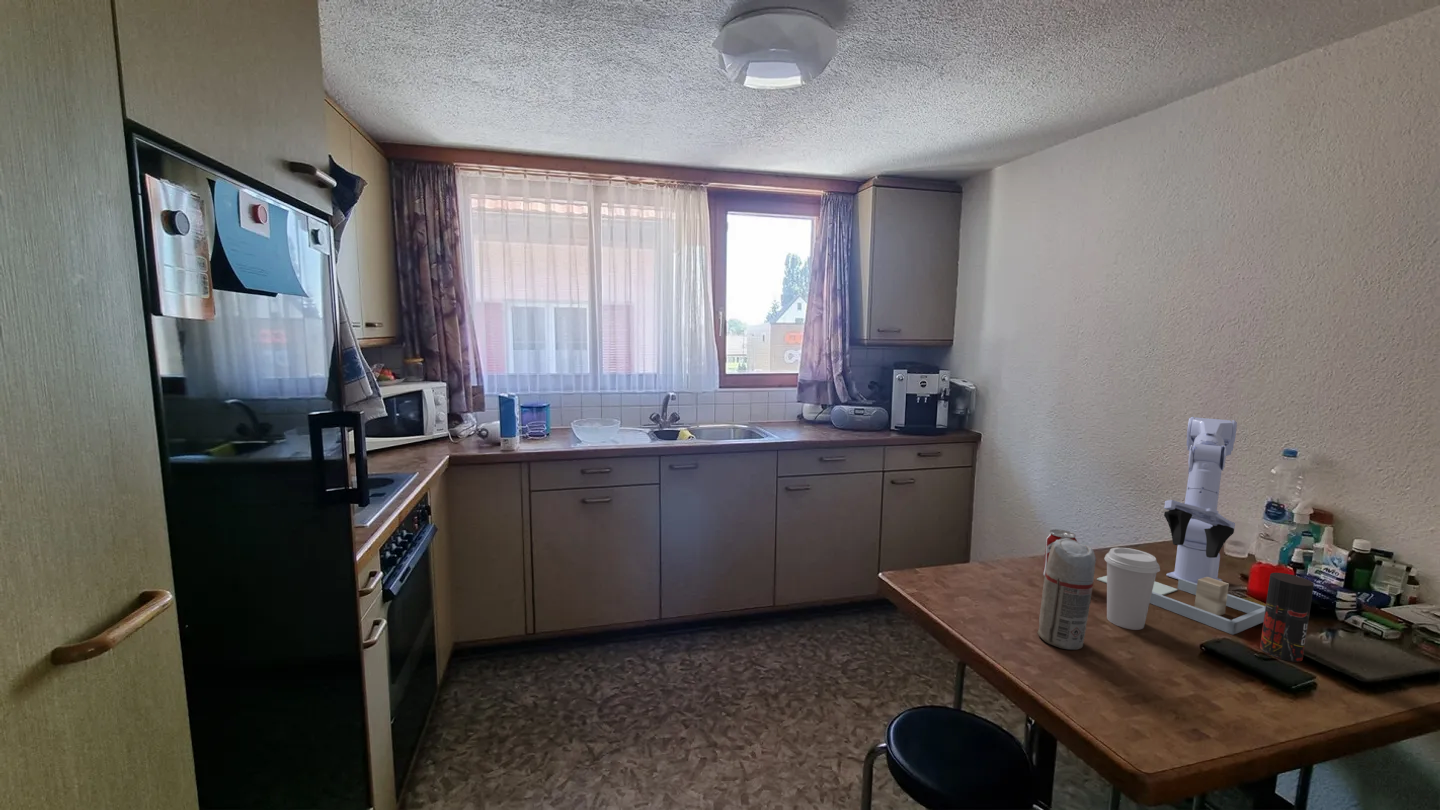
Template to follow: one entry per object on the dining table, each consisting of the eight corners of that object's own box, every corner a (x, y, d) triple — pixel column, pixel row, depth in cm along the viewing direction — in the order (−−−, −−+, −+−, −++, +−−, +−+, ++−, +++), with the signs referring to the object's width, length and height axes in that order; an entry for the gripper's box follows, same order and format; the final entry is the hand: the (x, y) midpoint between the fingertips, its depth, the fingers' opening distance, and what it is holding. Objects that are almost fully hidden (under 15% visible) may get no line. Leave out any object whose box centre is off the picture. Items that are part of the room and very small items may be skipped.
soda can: (1065, 574, 147) (1070, 529, 146) (1079, 586, 140) (1084, 538, 139) (1038, 573, 148) (1042, 527, 146) (1050, 584, 141) (1054, 537, 140)
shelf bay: (1179, 588, 140) (1180, 578, 140) (1269, 619, 125) (1271, 608, 125) (1142, 600, 133) (1143, 589, 133) (1232, 634, 118) (1234, 623, 118)
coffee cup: (1146, 617, 125) (1154, 550, 123) (1158, 637, 116) (1167, 566, 115) (1095, 607, 129) (1101, 543, 127) (1102, 627, 120) (1109, 557, 119)
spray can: (1080, 634, 117) (1089, 539, 115) (1091, 655, 109) (1101, 553, 107) (1033, 626, 120) (1042, 533, 118) (1041, 646, 112) (1050, 547, 110)
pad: (1124, 571, 150) (1124, 570, 150) (1177, 590, 139) (1177, 589, 139) (1096, 579, 144) (1096, 578, 144) (1149, 599, 134) (1149, 598, 134)
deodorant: (1260, 641, 116) (1271, 570, 114) (1302, 653, 112) (1313, 579, 110) (1259, 652, 112) (1269, 578, 110) (1302, 665, 107) (1314, 588, 106)
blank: (1203, 606, 131) (1207, 576, 130) (1224, 613, 128) (1228, 583, 127) (1194, 609, 129) (1197, 579, 129) (1215, 617, 126) (1219, 586, 125)
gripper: (1185, 479, 129) (1177, 537, 125) (1249, 502, 128) (1243, 562, 124) (1160, 484, 135) (1152, 539, 132) (1221, 506, 135) (1214, 562, 131)
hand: (1194, 550), depth 128 cm, fingers open, 7 cm apart
